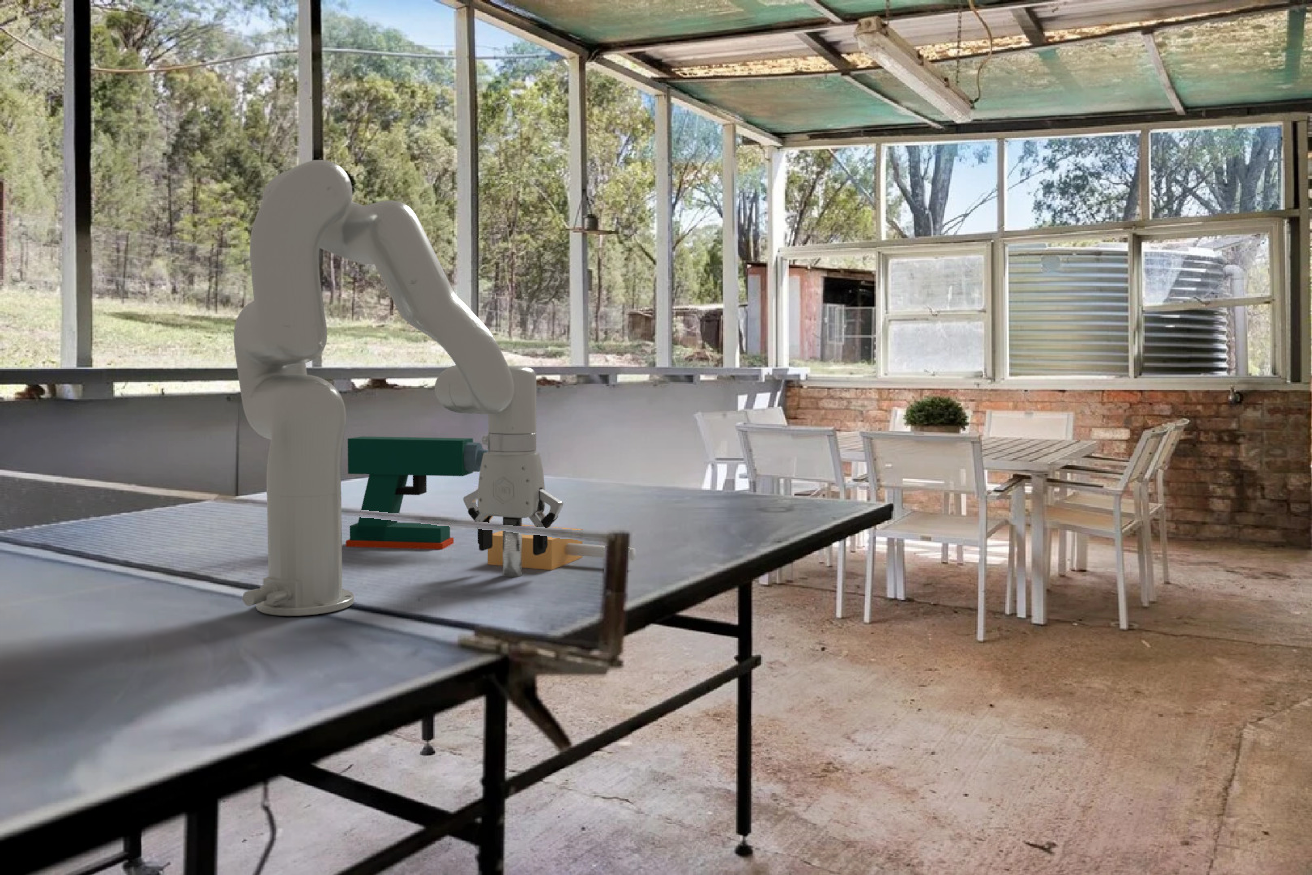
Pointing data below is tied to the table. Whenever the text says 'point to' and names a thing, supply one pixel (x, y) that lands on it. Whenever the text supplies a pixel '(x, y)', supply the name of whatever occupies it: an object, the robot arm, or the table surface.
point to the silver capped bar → (512, 549)
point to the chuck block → (548, 552)
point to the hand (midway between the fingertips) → (512, 551)
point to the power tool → (388, 485)
